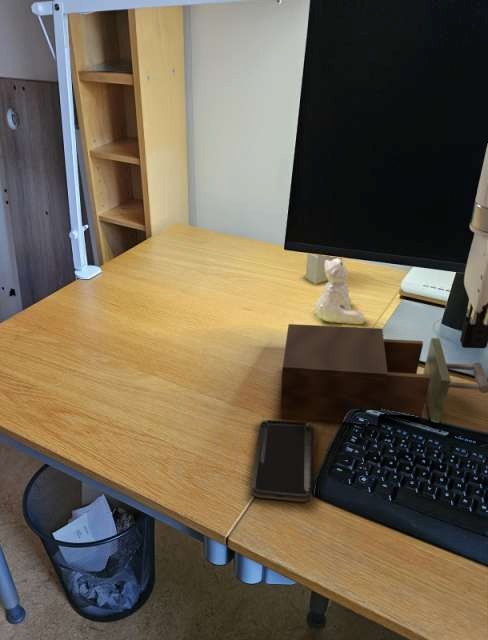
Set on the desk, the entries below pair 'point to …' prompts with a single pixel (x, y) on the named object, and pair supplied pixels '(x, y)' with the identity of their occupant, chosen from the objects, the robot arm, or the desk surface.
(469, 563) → the desk surface
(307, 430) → the phone
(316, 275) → the cream upright block
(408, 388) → the drawer
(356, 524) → the desk surface
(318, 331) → the cabinet
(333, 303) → the sitting furry creature
